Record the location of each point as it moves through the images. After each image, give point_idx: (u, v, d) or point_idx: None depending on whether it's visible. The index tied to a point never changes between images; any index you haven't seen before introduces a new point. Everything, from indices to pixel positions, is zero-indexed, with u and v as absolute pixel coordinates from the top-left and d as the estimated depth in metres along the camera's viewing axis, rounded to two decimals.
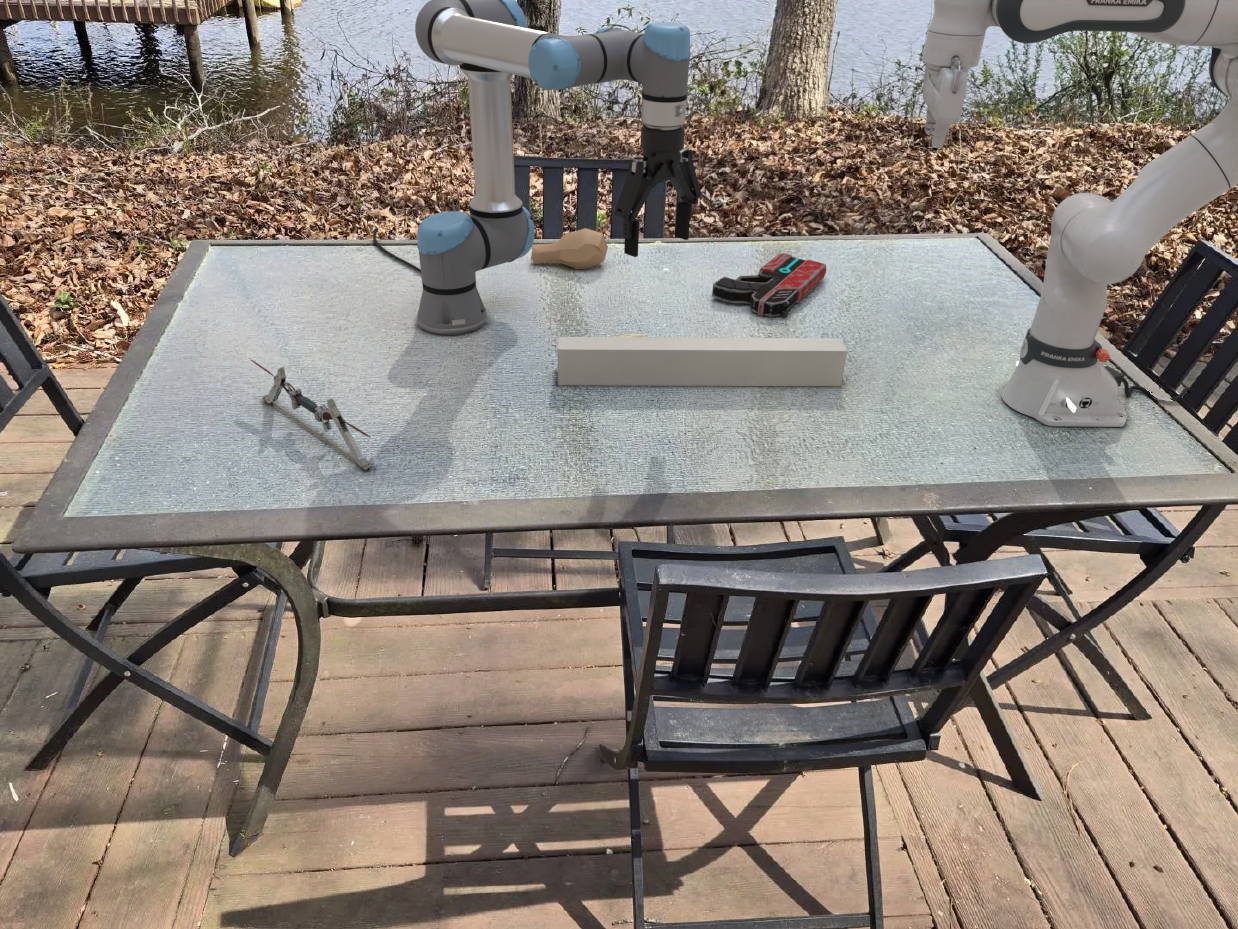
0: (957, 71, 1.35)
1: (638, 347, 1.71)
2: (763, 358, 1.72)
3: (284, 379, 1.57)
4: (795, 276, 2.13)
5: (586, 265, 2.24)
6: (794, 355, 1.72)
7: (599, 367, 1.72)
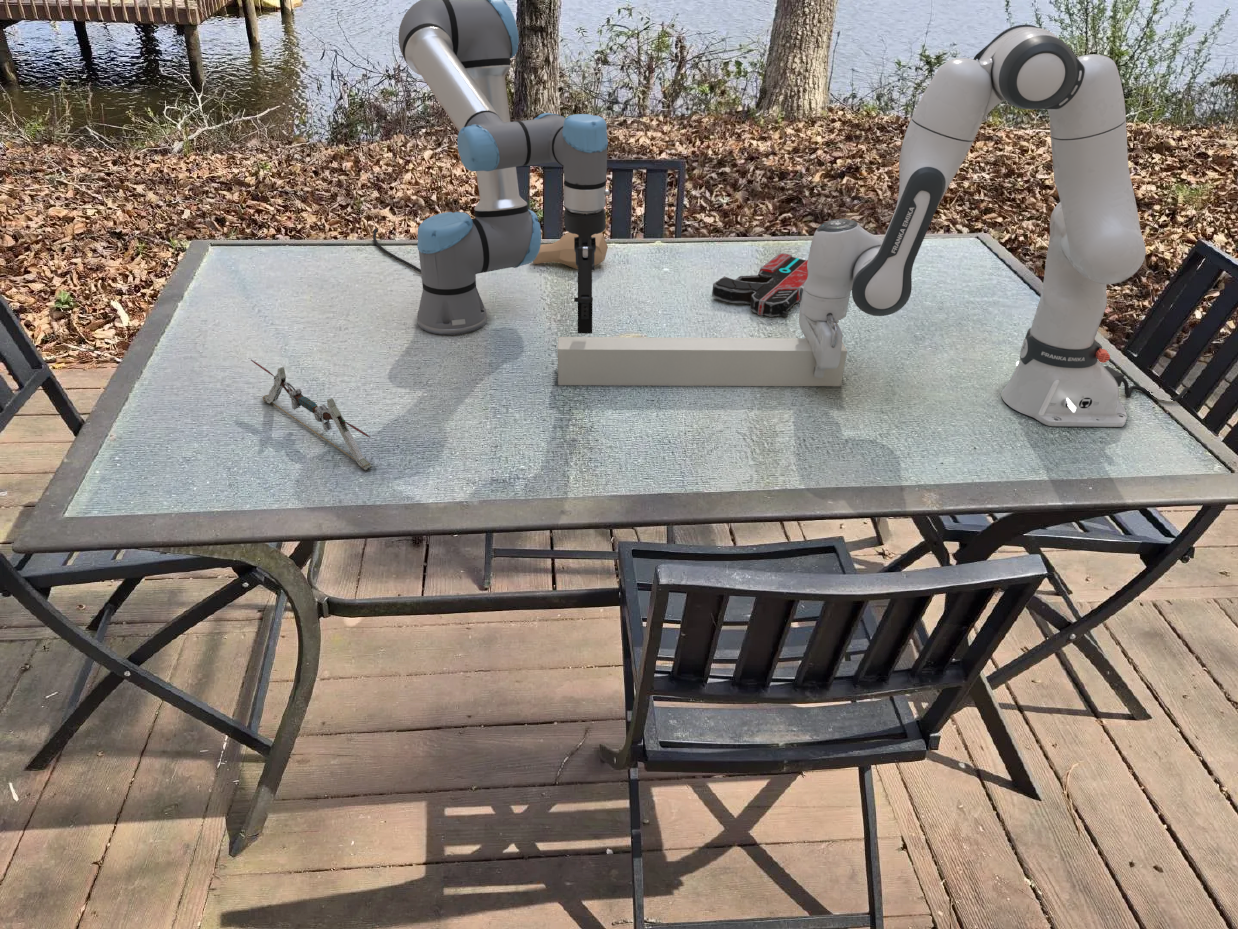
0: (834, 333, 1.61)
1: (638, 347, 1.71)
2: (763, 358, 1.72)
3: (284, 379, 1.57)
4: (795, 276, 2.13)
5: None
6: (794, 355, 1.72)
7: (599, 367, 1.72)
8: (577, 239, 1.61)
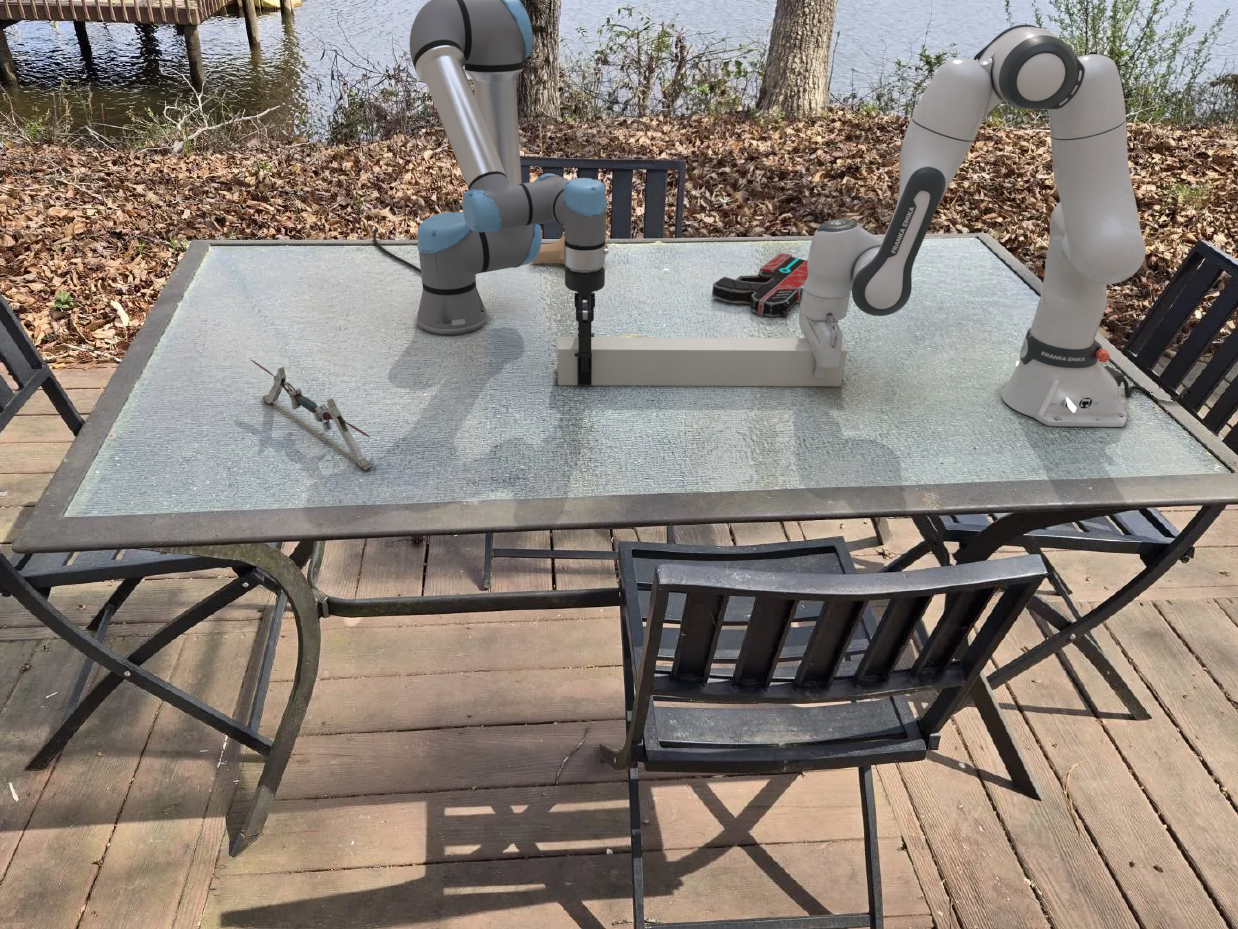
0: (834, 333, 1.61)
1: (638, 347, 1.71)
2: (763, 358, 1.72)
3: (284, 379, 1.57)
4: (795, 276, 2.13)
5: None
6: (794, 355, 1.72)
7: (599, 367, 1.72)
8: (577, 295, 1.67)
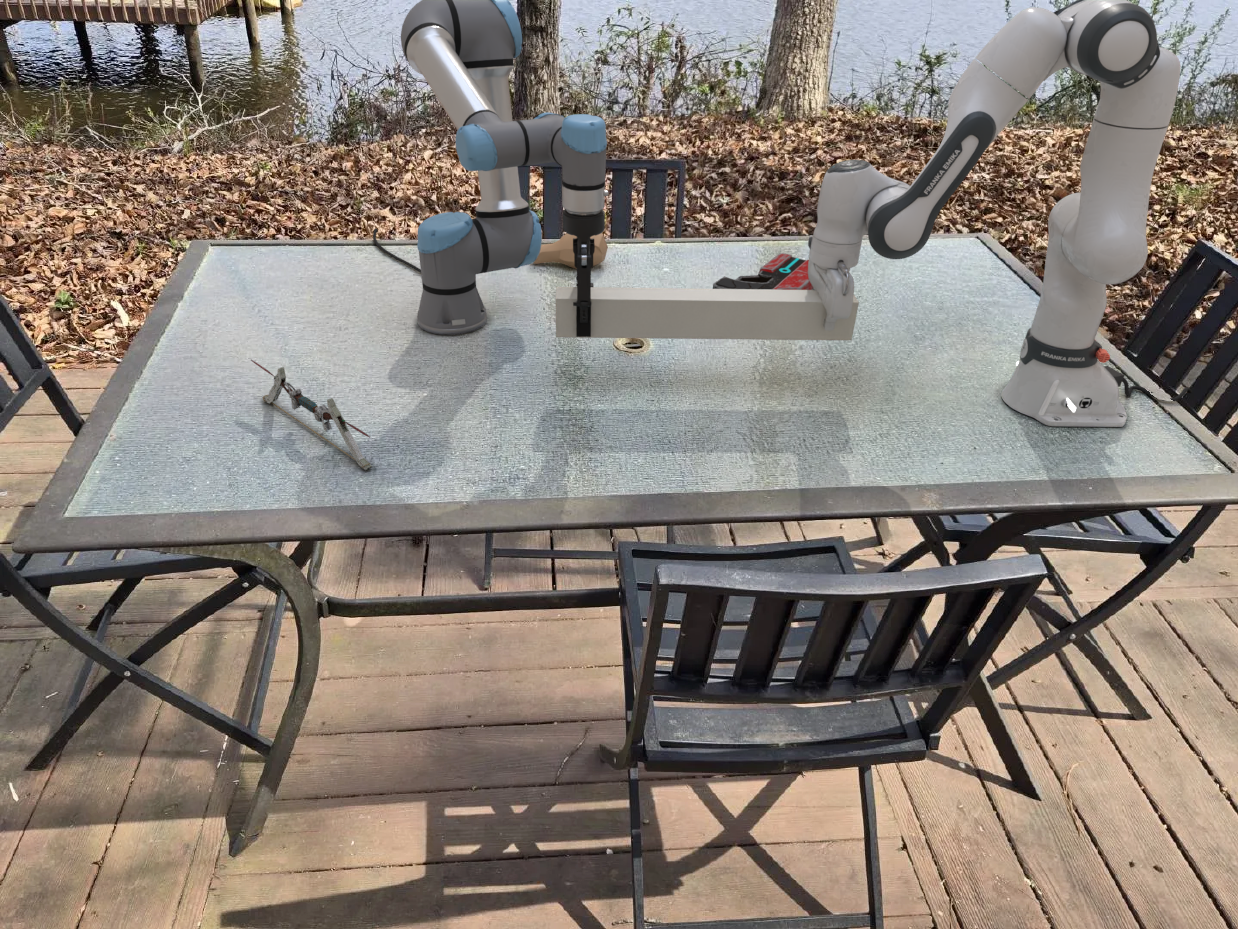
0: (846, 279, 1.54)
1: (639, 297, 1.63)
2: (771, 310, 1.64)
3: (284, 379, 1.57)
4: (795, 276, 2.13)
5: None
6: (803, 306, 1.64)
7: (599, 318, 1.64)
8: (576, 240, 1.59)
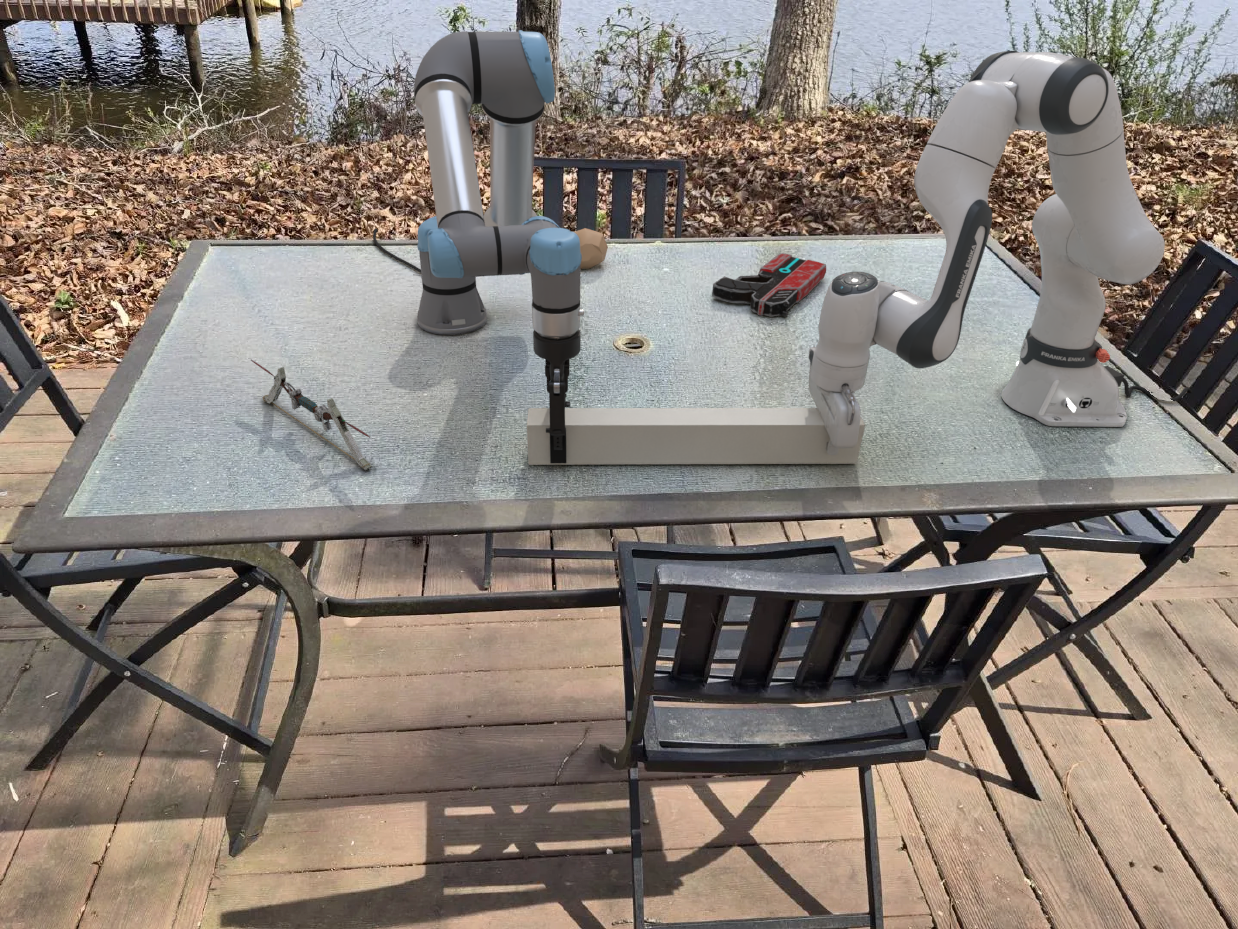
0: (851, 409, 1.37)
1: (620, 422, 1.46)
2: (767, 434, 1.48)
3: (284, 379, 1.57)
4: (795, 276, 2.13)
5: (586, 265, 2.24)
6: (803, 430, 1.47)
7: (575, 445, 1.47)
8: (549, 361, 1.42)
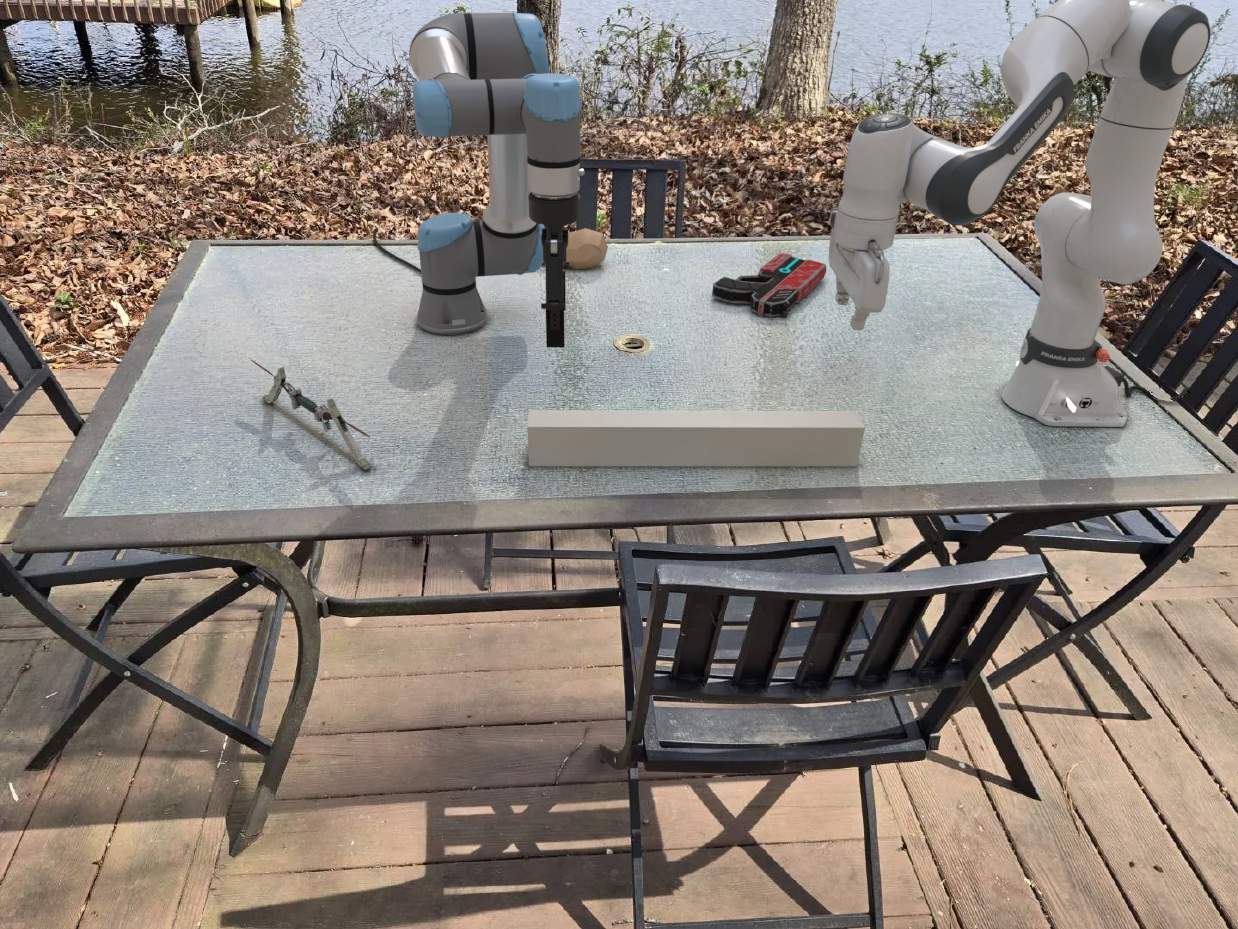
0: (880, 263, 1.24)
1: (621, 424, 1.46)
2: (767, 436, 1.48)
3: (284, 379, 1.57)
4: (795, 276, 2.13)
5: (586, 265, 2.24)
6: (803, 432, 1.48)
7: (576, 446, 1.48)
8: (545, 231, 1.30)
